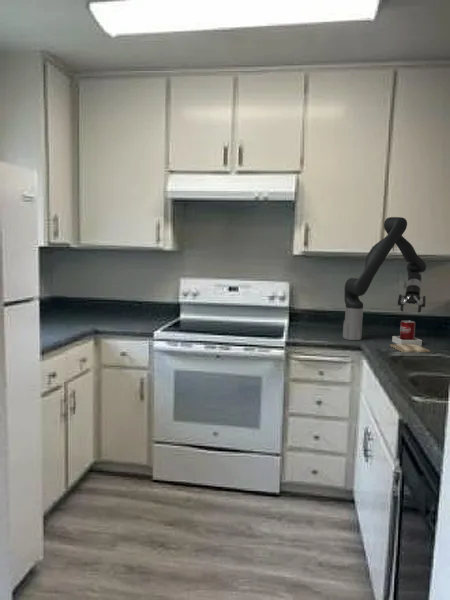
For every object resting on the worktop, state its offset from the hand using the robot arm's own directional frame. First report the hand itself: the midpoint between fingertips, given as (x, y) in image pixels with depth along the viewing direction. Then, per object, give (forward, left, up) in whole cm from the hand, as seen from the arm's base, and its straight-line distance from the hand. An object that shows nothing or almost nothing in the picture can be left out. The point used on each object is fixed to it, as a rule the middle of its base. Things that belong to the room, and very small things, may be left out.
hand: (410, 311), depth 268 cm
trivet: (-11, -24, -16) cm, 31 cm away
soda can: (-6, -10, -16) cm, 20 cm away
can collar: (-6, -10, -16) cm, 20 cm away
